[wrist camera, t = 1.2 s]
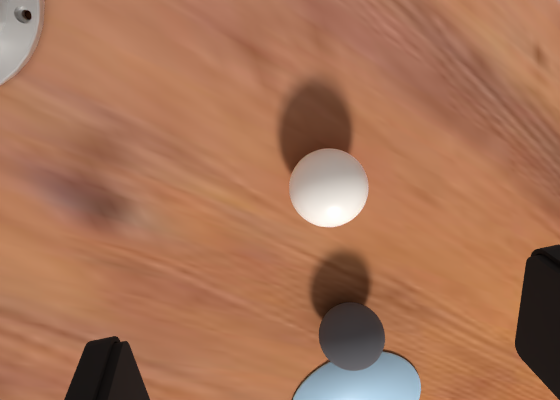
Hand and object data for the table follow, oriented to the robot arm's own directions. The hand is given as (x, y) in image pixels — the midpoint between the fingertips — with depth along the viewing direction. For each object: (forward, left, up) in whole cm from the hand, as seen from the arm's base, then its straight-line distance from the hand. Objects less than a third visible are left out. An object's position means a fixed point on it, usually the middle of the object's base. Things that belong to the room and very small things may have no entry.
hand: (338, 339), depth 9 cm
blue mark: (+31, +4, -21) cm, 38 cm away
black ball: (+19, +4, -19) cm, 27 cm away
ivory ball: (+5, +4, -19) cm, 20 cm away
